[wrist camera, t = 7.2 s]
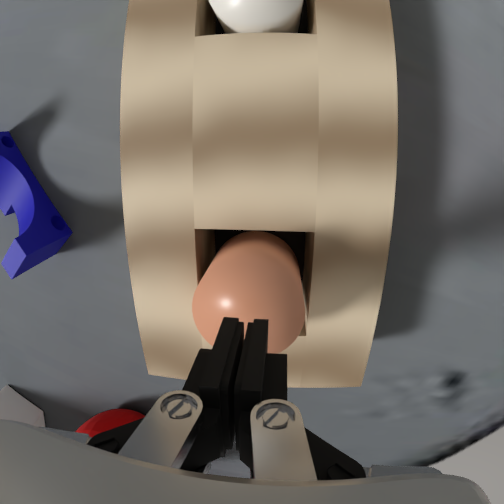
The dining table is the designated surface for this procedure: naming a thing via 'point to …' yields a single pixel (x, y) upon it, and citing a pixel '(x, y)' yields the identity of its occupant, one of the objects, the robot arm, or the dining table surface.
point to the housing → (260, 169)
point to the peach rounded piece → (252, 289)
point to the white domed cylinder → (258, 15)
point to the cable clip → (27, 212)
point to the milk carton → (19, 408)
